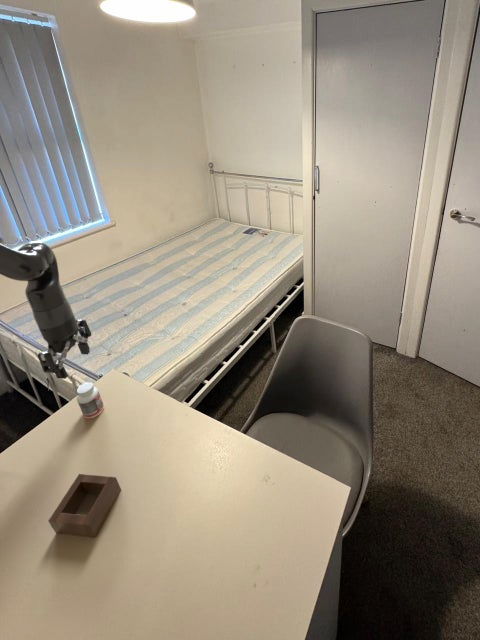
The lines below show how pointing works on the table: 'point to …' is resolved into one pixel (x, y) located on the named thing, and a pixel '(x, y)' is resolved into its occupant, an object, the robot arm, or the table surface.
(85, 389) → the pill bottle
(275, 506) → the table surface
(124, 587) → the table surface
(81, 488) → the holder
